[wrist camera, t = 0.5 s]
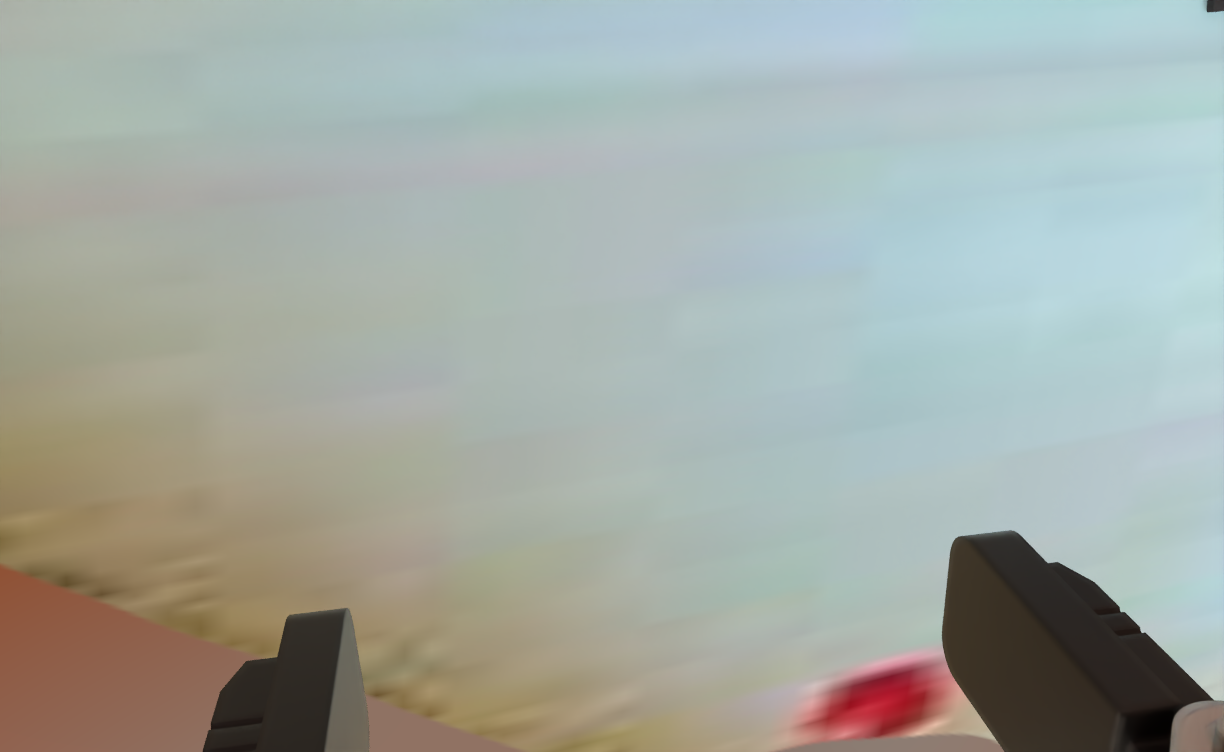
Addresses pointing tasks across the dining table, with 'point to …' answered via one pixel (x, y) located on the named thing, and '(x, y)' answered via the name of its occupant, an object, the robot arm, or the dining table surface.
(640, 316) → the dining table surface
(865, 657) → the dining table surface
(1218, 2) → the mat
